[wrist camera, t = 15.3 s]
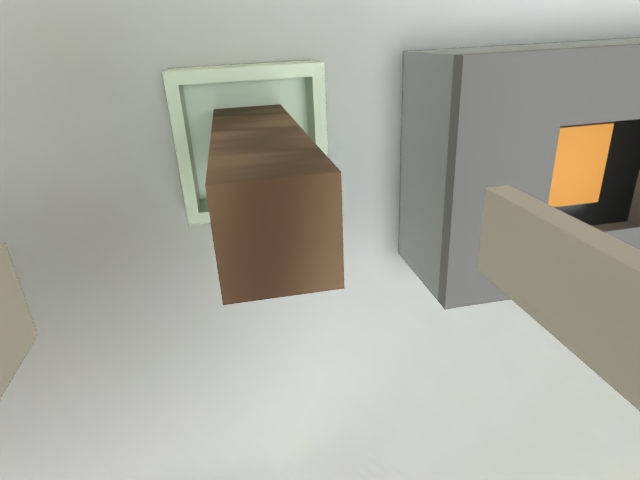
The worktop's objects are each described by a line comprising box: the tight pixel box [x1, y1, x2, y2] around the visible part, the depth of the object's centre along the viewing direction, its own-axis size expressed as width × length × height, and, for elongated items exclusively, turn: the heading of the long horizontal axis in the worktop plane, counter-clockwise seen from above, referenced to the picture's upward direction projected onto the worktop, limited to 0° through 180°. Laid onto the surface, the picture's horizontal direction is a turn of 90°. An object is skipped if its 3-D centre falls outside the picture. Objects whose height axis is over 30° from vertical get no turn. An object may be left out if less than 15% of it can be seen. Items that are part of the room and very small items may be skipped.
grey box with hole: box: [399, 38, 640, 309], centre depth 30 cm, size 18×14×8 cm
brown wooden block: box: [205, 104, 344, 305], centre depth 22 cm, size 4×4×16 cm
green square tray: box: [162, 60, 328, 225], centre depth 28 cm, size 9×9×3 cm
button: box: [548, 122, 614, 207], centre depth 30 cm, size 5×5×2 cm
